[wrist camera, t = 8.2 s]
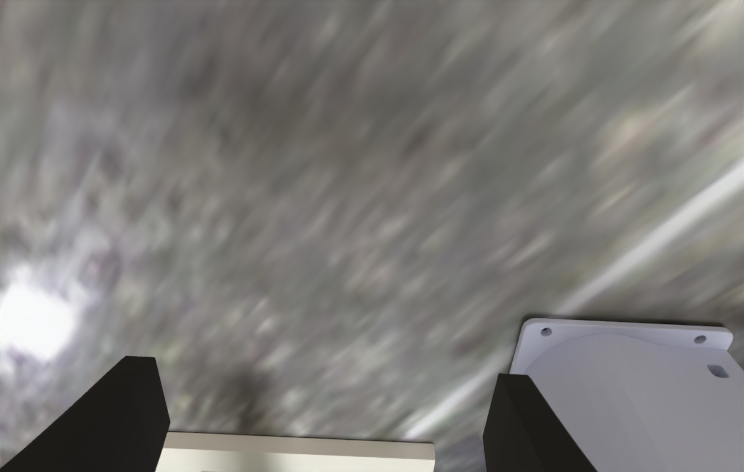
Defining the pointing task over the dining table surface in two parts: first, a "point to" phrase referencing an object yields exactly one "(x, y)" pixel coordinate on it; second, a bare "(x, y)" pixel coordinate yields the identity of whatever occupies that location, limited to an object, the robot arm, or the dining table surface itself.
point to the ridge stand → (289, 454)
